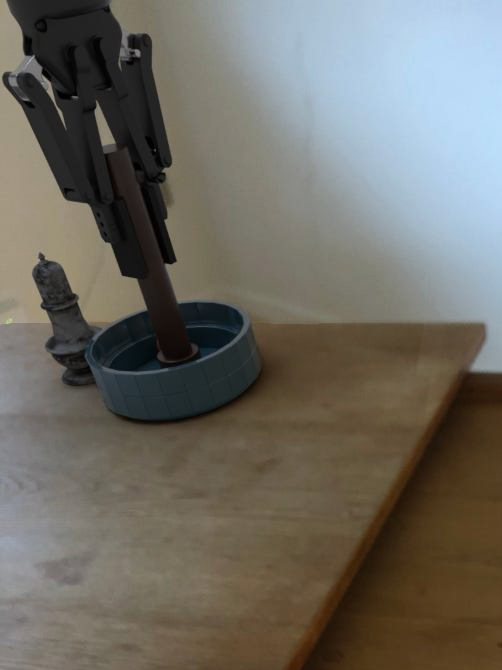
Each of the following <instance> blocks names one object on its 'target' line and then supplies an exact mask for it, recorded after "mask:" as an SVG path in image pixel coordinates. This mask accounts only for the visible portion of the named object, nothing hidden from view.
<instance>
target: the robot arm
mask: <svg viewBox="0 0 502 670" xmlns="http://www.w3.org/2000/svg"><path fill="white" fill-rule="evenodd" d="M5 2H6V4H7V7H8V10H9V12H10V14H11V16H12V17H13V18H14V20H15V22H16V23H17V25H18V26H19V28H20V30H21V36H22V52H23V55H24V58H23V59H22V60H21V62H20V63H19V65H18V66H17V67H16V68H15V70H14V71H4V72H3V74H2V76H1V81H2V84H3V85H4V86H3V87H5V89H7V91H8V92H9V93H10V95H11V96H12V97H13V98H14V99H15V100H16V102H17V103H18V104H19V105H20V106H21V108H22V110H23V113H24V115H25V117H26V119H27V121H28V123H29V126H30V128H31V131H32V132H33V134H34V136H35V139H36V141H37V143H38V145H39V147H40V150H41V152H42V154H43V156H44V158H45V160H46V163H47V165H48V167H49V168H50V171H51V172H52V176H53V177H54V179H55V182H56V184H57V186H58V189H59V190H60V193H61V195H62V197H63V198H64V200H65V201H68V202H73V203H80V204H85V205H86V204H87V205H88V206H89V208H90V210H91V212H92V216H93V218H94V221H95V224H96V226H97V229H98V232H99V235H100V238H101V239H102V240H103V242H104V243H107V244H110V246H111V248H112V252H113V255H114V257H115V261H116V263H117V266H118V269H119V272H120V274H121V277H125V278H131V279H136V280H137V279H141V280H144V279H146V278H148V277H149V274H148V272H147V269H146V266H145V263H144V260H143V257H142V254H141V251H140V248H139V245H138V242H137V239H136V236H135V233H134V230H133V227H132V224H131V221H130V218H129V215H128V212H127V209H126V206H125V203H124V200H121V199H114V196H113V191H112V187H111V182H110V178H109V173H108V169H107V165H106V160H105V156H104V152H103V147H102V146H103V143H102V140H101V135H100V130H99V126H98V121H97V116H96V113H95V112H96V109H97V108H98V106H99V109H100V111H101V113H102V116H103V117H104V120H105V122H106V125H107V127H108V129H109V131H110V133H111V136H112V138H113V140H114V142H115V143H123V144H126V145H127V146H128V149H129V152H130V155H131V158H132V161H133V164H134V168H135V171H136V174H137V177H138V180H139V183H140V186H141V189H142V193H143V196H144V199H145V202H146V205H147V208H148V211H149V214H150V218H151V221H152V224H153V227H154V230H155V233H156V236H157V240H158V243H159V246H160V249H161V252H162V255H163V258H164V261H165V265H170V266H171V265H173V264H175V263H177V262H178V260H177V255H176V253H175V250H174V247H173V244H172V240H171V237H170V234H169V231H168V227H167V224H166V220H167V219H168V218H169V217H168V209H167V206H166V203H165V199H164V196H163V193H162V190H161V186H160V184H161V185H162V184H164V183H165V182H166V180H167V174H166V172H164V170H165V169H169V168H171V166H172V165H173V157H172V152H171V147H170V144H169V140H168V134H167V130H166V129H167V128H166V125H165V121H164V116H163V112H162V107H161V103H160V97H159V93H158V89H157V84H156V79H155V76H154V71H153V40H152V37H151V36H150V35H149V34H148V33H144V32H143V33H140V32H132V31H128V30H125V29H123V28H122V26H121V24H120V22H119V21H118V19H117V18H116V17H115V15H114V14H113V11H112V10H111V6H110V4H111V3H112V0H5ZM119 64H120V65H119ZM44 78H45V79H46V81H45V80H44ZM47 81H48V82H49V83H50V86H51V91H52V94H53V99H54V100H53V99H52V96H51V95H50V94H49V92H48V90H49V84H48V82H47ZM57 108H58V109H57ZM59 111H60V112H61V115H62V117H61V115H60V113H59Z"/></svg>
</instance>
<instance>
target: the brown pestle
mask: <svg viewBox="0 0 502 670" xmlns="http://www.w3.org/2000/svg"><path fill="white" fill-rule="evenodd" d="M102 147H103V152H104V156H105V160H106V165H107V169H108V173H109V178H110V182H111V187H112V191H113V196H114V199H121V200H124V203H125V206H126V209H127V212H128V215H129V218H130V221H131V224H132V227H133V230H134V233H135V236H136V239H137V242H138V245H139V248H140V251H141V254H142V257H143V260H144V263H145V266H146V269H147V272H148V274H149V277H148V278H146V279H144V280H141V279H136V282H137V284H138V287H139V290H140V293H141V296H142V299H143V301H144V304H145V307H146V309H147V310H148V313H149V316H150V319H151V322H152V325H153V328H154V331H155V334H156V337H157V339H158V342H159V345H160V348H161V351H160V352H159V353H158V354H157V359H158V362H159V365H160V368H161V369H165V368H170V367H175V366H180V365H183V364H186V363H189V362H193V361H196V360H199V359H201V358H202V356H201V353H200V350H199V347H198V346H197V345H196V344H193V343H190V340H189V337H188V333H187V330H186V327H185V324H184V321H183V318H182V315H181V312H180V308H179V305H178V302H177V301H178V299H177V296H176V292H175V290H174V287H173V283H172V280H171V277H170V274H169V272H168V268H167V264H165V261H164V258H163V255H162V252H161V249H160V246H159V243H158V240H157V236H156V233H155V230H154V227H153V224H152V221H151V218H150V214H149V211H148V208H147V205H146V202H145V199H144V196H143V193H142V189H141V186H140V183H139V180H138V177H137V174H136V171H135V168H134V164H133V161H132V158H131V155H130V152H129V149H128V146H127V145H126V144H123V143H109V144H105V145H102Z"/></svg>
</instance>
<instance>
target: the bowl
mask: <svg viewBox="0 0 502 670" xmlns="http://www.w3.org/2000/svg"><path fill="white" fill-rule="evenodd" d="M177 302H178V305H179V308H180V312H181V315H182V318H183V321H184V324H185V327H186V330H187V333H188V337H189V340H190V343H193V344H196V345H197V346H198V347H199V350H200V353H201V356H202V358H201V359H199V360H196V361H193V362H189V363H186V364H183V365H180V366H175V367H170V368H165V369H161V368H160V365H159V362H158V359H157V354H158V353H159V350H158V347H157V337H156V334H155V331H154V328H153V325H152V322H151V319H150V316H149V313H148V310H147V308H144V309H139V310H137V311H135V312H131V313H129V314H127V315H125V316H123V317H120V318H118V319H117V320H115V321H113V322H111V323H110V324H108V325H106V326H105V327H102V328H103V329H102V330H101V331H99V332H98V333H97V334H96V335H94V336H93V338H92V339H91V341H90V342H89V343H88V345H87V346H86V351H85V358H86V360H87V363H88V365H89V368H90V370H91V373H92V375H93V377H94V380H95V382H94V383H95V386H96V387H97V390H98V392H99V395H100V398H101V400H102V401H103V403H104V405H105V407H106V408H108V409H109V410H110V411H111V412H113V413H115V414H117V415H119V416H120V415H121V416H124V417H128V418H130V419H136V420H139V421H147V422H149V421H150V422H152V421H153V422H161V421H173V420H179V419H184V418H185V419H186V418H190V417H194V416H197V415H201V414H204V413H208V412H210V411H213V410H215V409H217V408H220V407H222V406H224V405H226V404H228V403H230V402H232V401H233V400H234V399H237V398H238V397H239V396H240V395H242V394H243V393H244V392H245V391H246V390H247V389H248V388H249V387H250V386H251V385H252V384H253V383H254V381H255V380H256V379H257V378H258V377H259V374H260V372H261V370H262V367H263V363H262V358H261V354H260V353H261V352H260V350H259V346H258V343H257V339H256V335H255V331H254V328H253V324H252V320H251V317H250V314H249V313H248V312H247V311H246V310H245V309H244V308H243V307H241V306H239V305H238V304H235V303H232V302H229V301H224V300H219V299H188V300H179V301H178V300H177Z"/></svg>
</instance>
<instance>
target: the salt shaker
mask: <svg viewBox="0 0 502 670" xmlns="http://www.w3.org/2000/svg"><path fill="white" fill-rule="evenodd" d="M37 259H39V261H38V263H37V264H35V265H34V266H33V268H32V271H31V276H32V279H33V281H34V283H35V285H36V288H37V291H38V293H39V296H40V298H41V303H40V305H39V306H40V309H42V310H43V311H45V313H46V314H47V317H48V319H49V321H50V324H51V328H52V333H53V335H52V336H51V337H49V338H48V339H47V340H46V341H45V343H44V349H45V351H46V352H48V353H49V354H51V356H52V358H53V359H54V360H55V362H56V363H58V365H60V366H63V367H65V368H66V369H65V370H64V371H63V372H62V374H61V380H62V382H63V383H64V384H66V385H69V386H76V387H77V386H78V387H79V386H85V385H91V384H94V383H96V382H95V380H94V377H93V375H92V373H91V370H90V368H89V365H88V363H87V360H86V358H85V351H86V346H87V345H88V343H89V342H90V341H91V339H92V338H93V336H94V335H96V334H97V333H98V332H99V331H101V330H102V329H103V328H104V327H101V326H99V325H91V324H88V322H87V320H86V319H85V317H84V315H83V312H82V310H81V307H80V305H79V302H78V301H79V299H80V296H79V294H77V293H74V292H73V289H72V287H71V284H70V282H69V280H68V277H67V274H66V272H65V270H64V268H63V265H61V264H60V263H59V262H57V261H54V260H49V259H46V255H44V253H42V252H41V251H40V252H38V255H37Z"/></svg>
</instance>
